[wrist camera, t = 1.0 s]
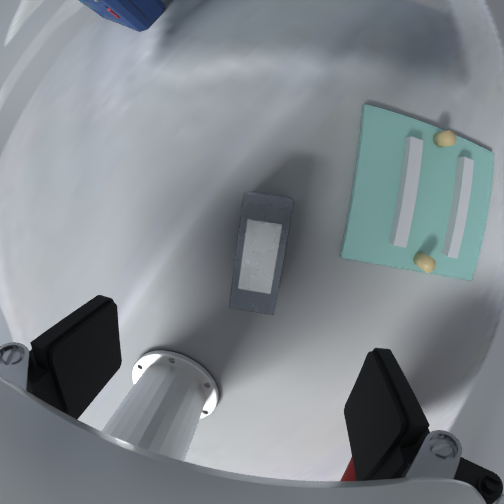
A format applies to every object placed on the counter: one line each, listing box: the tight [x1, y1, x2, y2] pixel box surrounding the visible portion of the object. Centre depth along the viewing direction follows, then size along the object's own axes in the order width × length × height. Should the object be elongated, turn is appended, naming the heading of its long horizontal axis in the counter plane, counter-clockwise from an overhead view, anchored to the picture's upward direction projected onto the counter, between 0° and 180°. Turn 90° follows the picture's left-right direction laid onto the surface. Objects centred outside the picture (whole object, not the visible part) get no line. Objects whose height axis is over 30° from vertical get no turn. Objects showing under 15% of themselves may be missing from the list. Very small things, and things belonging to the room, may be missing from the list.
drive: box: [229, 192, 293, 315], centre depth 26 cm, size 10×4×6 cm, turn 172°
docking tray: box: [340, 104, 494, 281], centre depth 24 cm, size 16×18×4 cm
